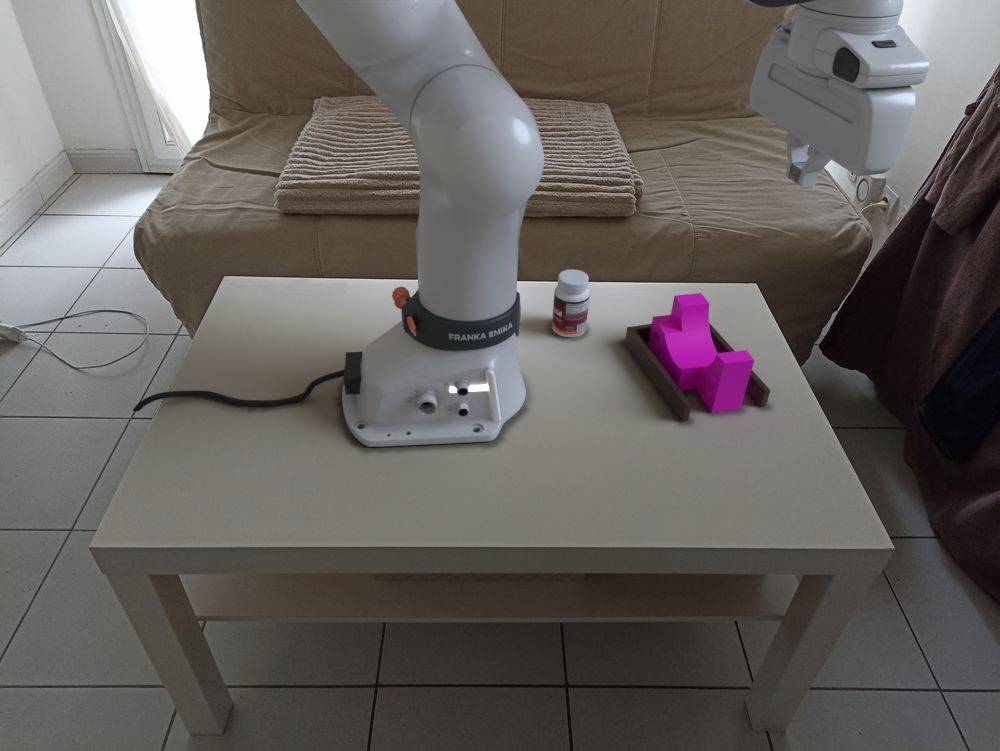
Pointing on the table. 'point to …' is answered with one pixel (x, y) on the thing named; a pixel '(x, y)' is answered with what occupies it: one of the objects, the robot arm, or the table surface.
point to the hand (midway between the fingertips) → (799, 182)
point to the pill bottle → (571, 303)
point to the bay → (666, 383)
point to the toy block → (699, 355)
